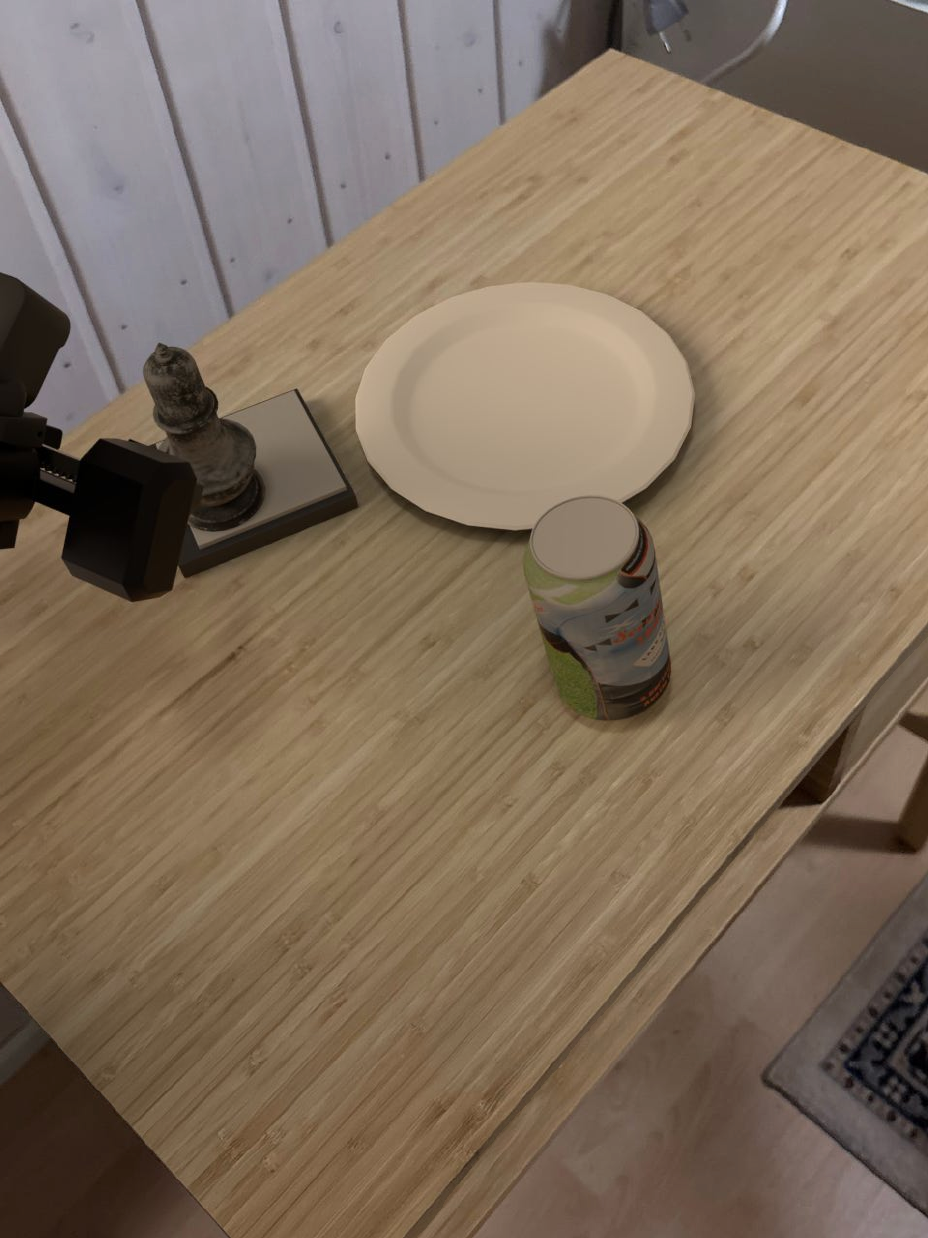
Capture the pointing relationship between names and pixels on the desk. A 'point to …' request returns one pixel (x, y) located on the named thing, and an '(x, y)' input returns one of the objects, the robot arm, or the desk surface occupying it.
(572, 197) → the desk surface
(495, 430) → the plate
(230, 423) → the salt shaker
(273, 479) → the scale
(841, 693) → the desk surface
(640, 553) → the beverage can
